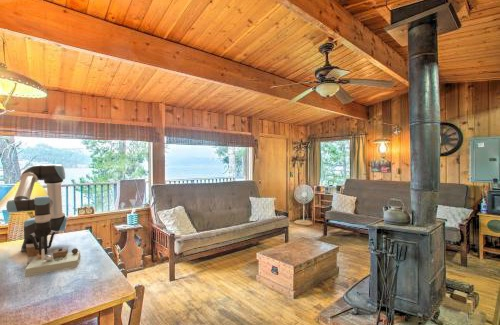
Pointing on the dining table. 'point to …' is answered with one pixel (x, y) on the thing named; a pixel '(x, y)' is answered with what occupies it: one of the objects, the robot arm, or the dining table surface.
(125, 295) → the dining table surface
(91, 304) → the dining table surface
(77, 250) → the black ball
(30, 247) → the coffee cup
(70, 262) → the deck
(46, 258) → the steel ball
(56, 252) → the cover
